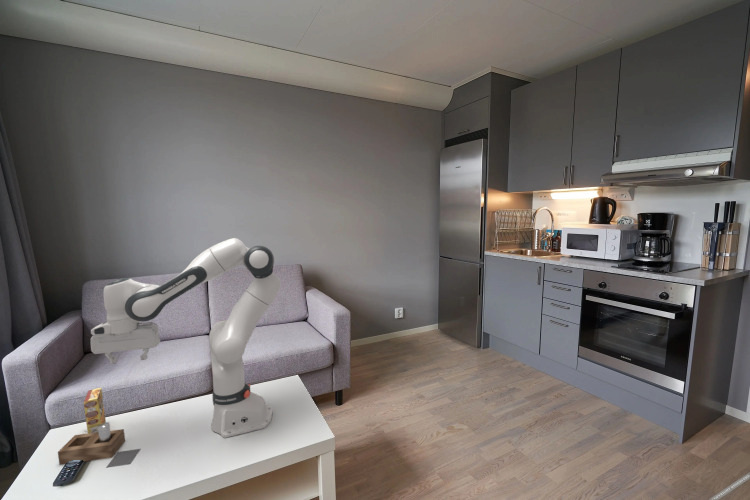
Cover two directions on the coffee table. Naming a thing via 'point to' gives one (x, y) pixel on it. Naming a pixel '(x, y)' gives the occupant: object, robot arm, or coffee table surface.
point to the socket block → (90, 447)
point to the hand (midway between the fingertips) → (129, 361)
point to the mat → (123, 458)
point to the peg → (104, 432)
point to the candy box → (94, 410)
